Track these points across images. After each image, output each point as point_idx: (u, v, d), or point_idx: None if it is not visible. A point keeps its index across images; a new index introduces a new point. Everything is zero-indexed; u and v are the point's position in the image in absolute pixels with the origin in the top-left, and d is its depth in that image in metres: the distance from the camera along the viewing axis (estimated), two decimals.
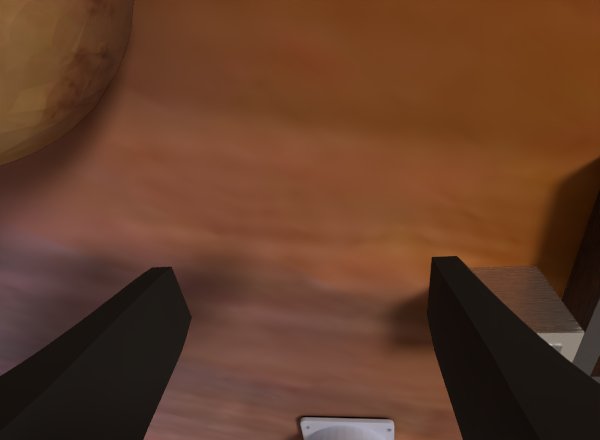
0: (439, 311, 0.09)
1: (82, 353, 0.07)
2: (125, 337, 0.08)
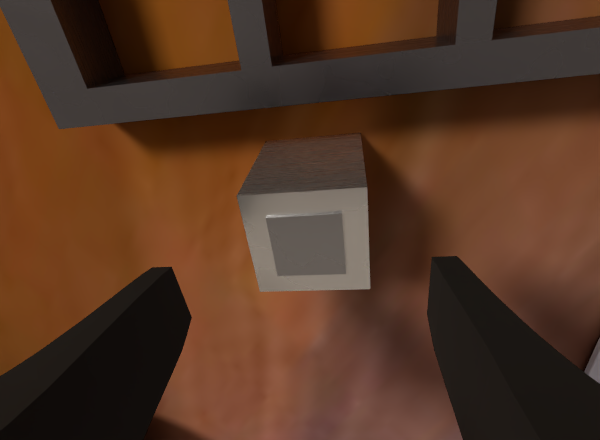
0: (439, 311, 0.09)
1: (82, 353, 0.07)
2: (125, 337, 0.08)
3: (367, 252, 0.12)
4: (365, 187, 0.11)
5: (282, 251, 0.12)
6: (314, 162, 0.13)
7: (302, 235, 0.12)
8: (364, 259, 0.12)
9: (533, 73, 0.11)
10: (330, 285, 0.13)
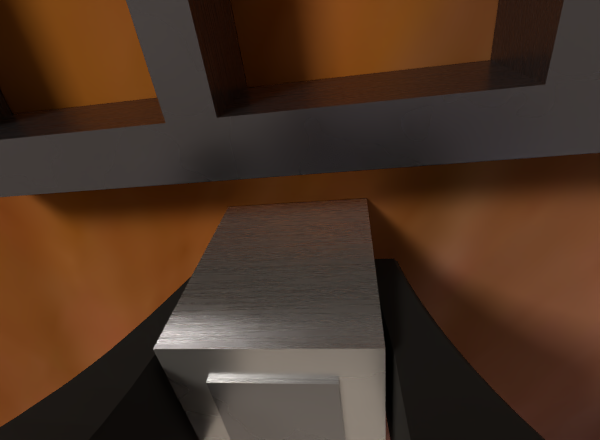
0: None
1: None
2: None
3: (382, 430, 0.07)
4: (382, 348, 0.06)
5: (240, 423, 0.07)
6: (294, 265, 0.08)
7: (272, 404, 0.07)
8: (377, 437, 0.07)
9: None
10: None
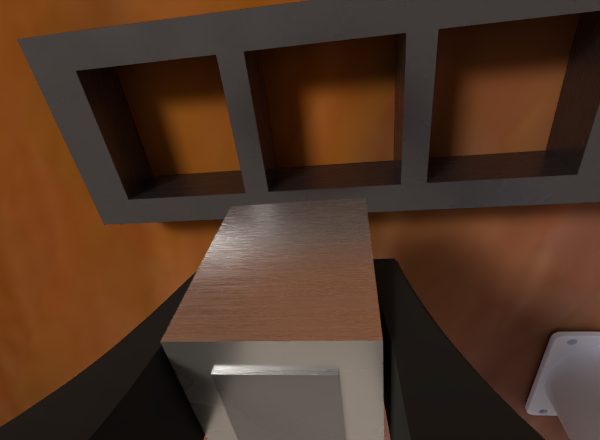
0: None
1: (155, 353, 0.07)
2: None
3: (380, 420, 0.07)
4: (379, 339, 0.06)
5: (244, 414, 0.07)
6: (295, 262, 0.08)
7: (274, 395, 0.07)
8: (375, 427, 0.07)
9: (458, 204, 0.15)
10: None
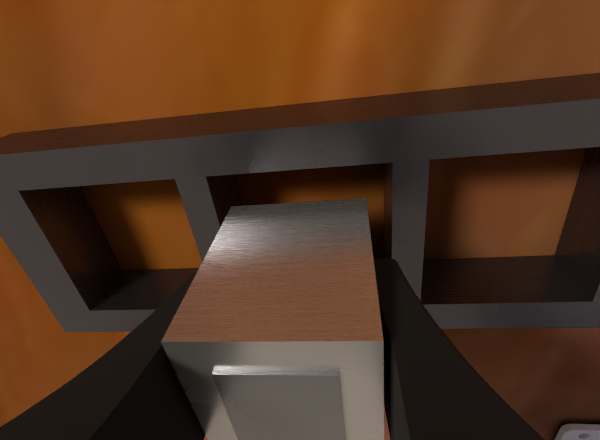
0: None
1: (155, 353, 0.07)
2: None
3: (381, 420, 0.07)
4: (380, 340, 0.06)
5: (244, 415, 0.07)
6: (296, 263, 0.08)
7: (275, 396, 0.07)
8: (375, 427, 0.07)
9: (456, 324, 0.13)
10: None
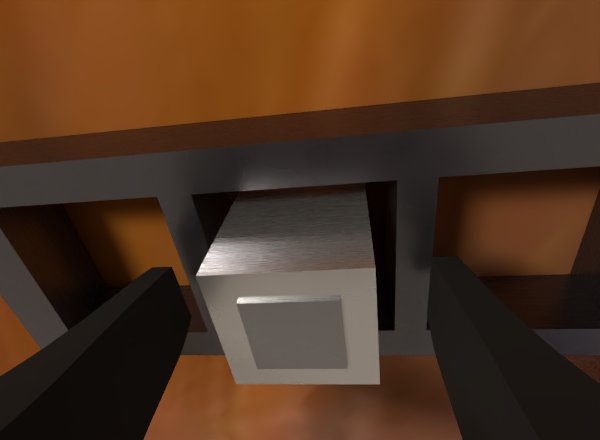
0: (439, 311, 0.09)
1: (82, 353, 0.07)
2: (125, 337, 0.08)
3: (376, 344, 0.09)
4: (373, 267, 0.08)
5: (263, 342, 0.09)
6: (303, 218, 0.10)
7: (288, 323, 0.09)
8: (372, 351, 0.09)
9: None
10: (327, 379, 0.10)
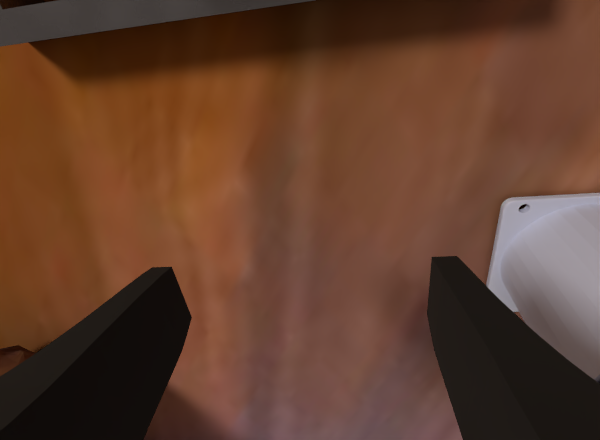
0: (439, 311, 0.09)
1: (82, 353, 0.07)
2: (125, 337, 0.08)
3: None
4: None
5: None
6: None
7: None
8: None
9: None
10: None
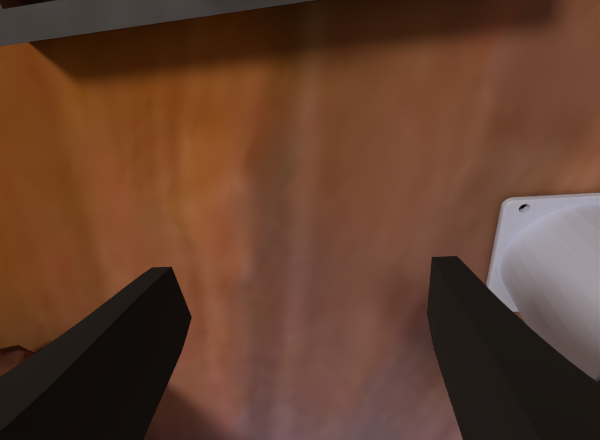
0: (439, 311, 0.09)
1: (82, 353, 0.07)
2: (125, 337, 0.08)
3: None
4: None
5: None
6: None
7: None
8: None
9: None
10: None
